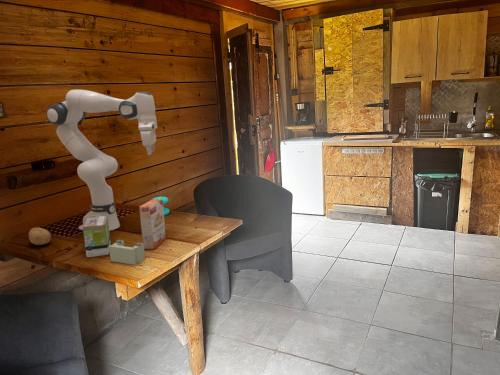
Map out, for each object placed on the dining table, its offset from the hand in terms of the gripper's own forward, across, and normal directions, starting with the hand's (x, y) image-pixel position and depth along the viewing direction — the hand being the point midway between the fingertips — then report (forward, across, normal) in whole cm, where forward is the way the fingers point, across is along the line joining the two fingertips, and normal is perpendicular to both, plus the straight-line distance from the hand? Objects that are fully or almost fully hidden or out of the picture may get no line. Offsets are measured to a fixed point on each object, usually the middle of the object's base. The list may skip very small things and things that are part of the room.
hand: (151, 153), depth 195 cm
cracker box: (+42, +16, 0) cm, 45 cm away
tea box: (+42, +19, -26) cm, 53 cm away
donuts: (+42, -34, -4) cm, 54 cm away
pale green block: (+42, +34, -10) cm, 55 cm away
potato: (+41, +5, -58) cm, 71 cm away
